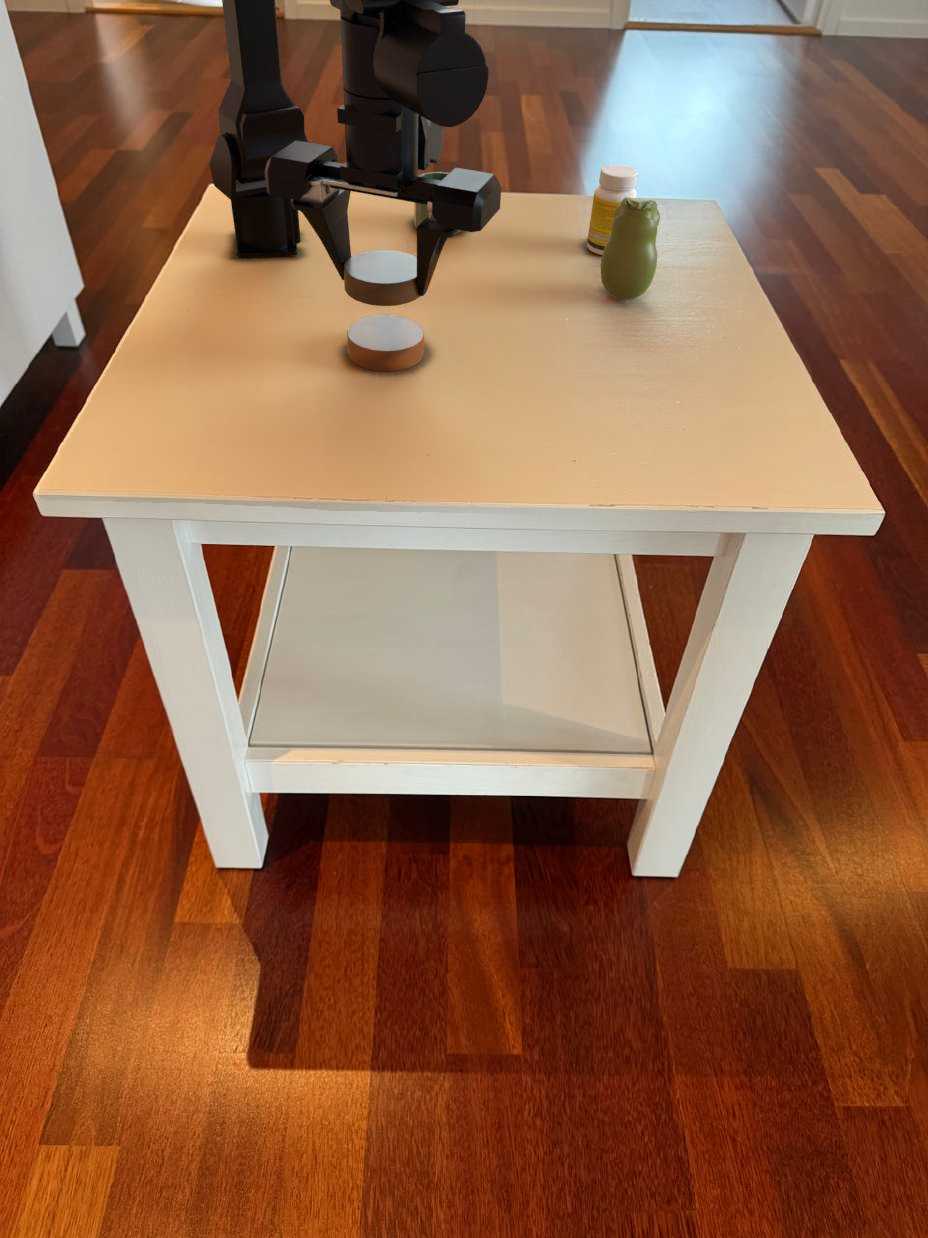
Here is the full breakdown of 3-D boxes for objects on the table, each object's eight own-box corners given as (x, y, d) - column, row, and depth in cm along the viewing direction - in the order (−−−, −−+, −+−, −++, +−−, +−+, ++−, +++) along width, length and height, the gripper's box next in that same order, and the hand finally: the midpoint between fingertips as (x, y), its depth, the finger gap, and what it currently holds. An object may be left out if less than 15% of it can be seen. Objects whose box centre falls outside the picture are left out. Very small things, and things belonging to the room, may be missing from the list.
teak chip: (352, 373, 82) (351, 353, 81) (344, 336, 87) (343, 316, 86) (429, 369, 83) (429, 348, 82) (417, 332, 88) (417, 312, 87)
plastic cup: (418, 236, 104) (419, 190, 101) (411, 216, 108) (411, 172, 105) (468, 234, 105) (470, 189, 102) (459, 215, 109) (460, 170, 106)
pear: (593, 303, 94) (608, 203, 87) (599, 282, 98) (613, 184, 91) (648, 311, 93) (667, 210, 86) (651, 289, 97) (670, 190, 90)
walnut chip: (348, 308, 78) (347, 285, 76) (341, 272, 83) (339, 250, 81) (430, 304, 79) (430, 281, 78) (417, 269, 84) (417, 247, 82)
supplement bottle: (620, 260, 102) (633, 181, 96) (580, 251, 103) (591, 172, 97) (633, 245, 105) (646, 167, 99) (594, 236, 106) (605, 159, 101)
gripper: (528, 78, 73) (512, 269, 84) (315, 47, 77) (327, 234, 88) (484, 117, 66) (473, 321, 77) (251, 81, 70) (272, 280, 81)
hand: (384, 286), depth 81 cm, fingers closed on walnut chip, 7 cm apart
